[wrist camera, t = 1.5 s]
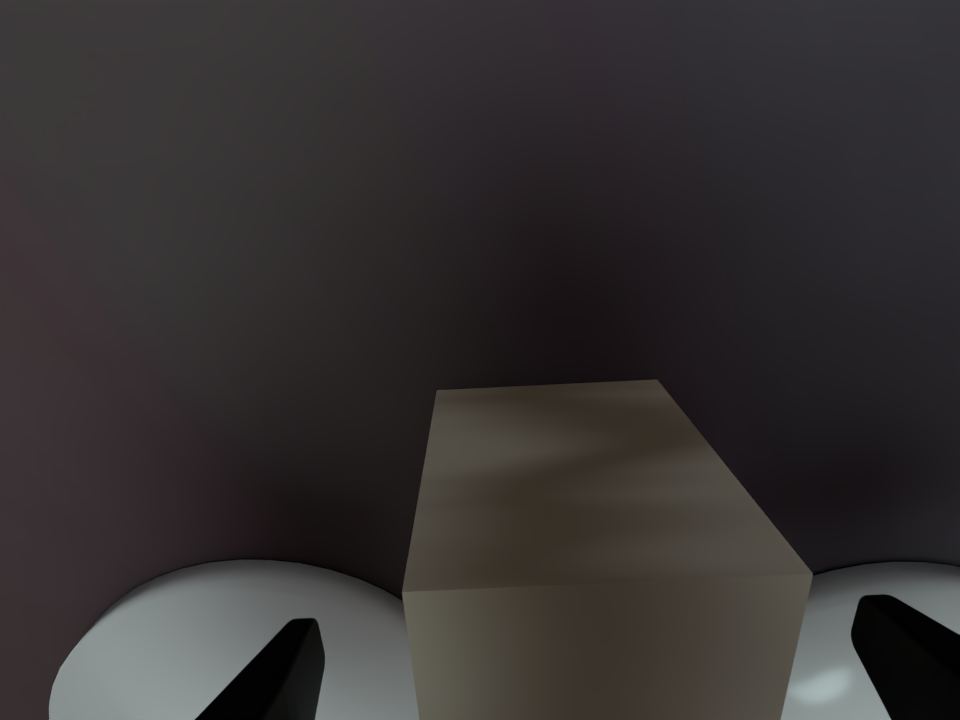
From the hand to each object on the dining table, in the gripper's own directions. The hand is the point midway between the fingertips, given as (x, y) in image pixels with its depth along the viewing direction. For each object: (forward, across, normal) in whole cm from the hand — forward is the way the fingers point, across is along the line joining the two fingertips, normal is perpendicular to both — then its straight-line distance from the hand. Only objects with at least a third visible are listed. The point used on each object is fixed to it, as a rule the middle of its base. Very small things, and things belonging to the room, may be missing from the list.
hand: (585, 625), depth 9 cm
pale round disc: (+4, +8, +8) cm, 12 cm away
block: (+4, 0, 0) cm, 4 cm away
